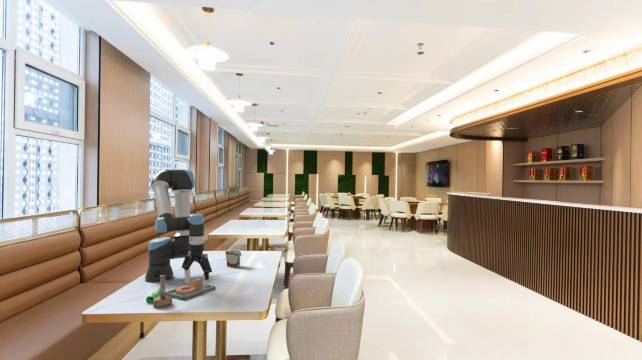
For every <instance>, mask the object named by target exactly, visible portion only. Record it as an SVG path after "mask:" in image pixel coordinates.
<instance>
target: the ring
mask: <svg viewBox="0 0 642 360" xmlns="http://www.w3.org/2000/svg"><path fill="white" fill-rule="evenodd" d="M202 283H203V278H199V277H196V278H193V279H190V282H189V284H190V286H185V285H182V286H179V288H178V287H176V288H177V289H176V294H177V295H181V296H183V295H189V294H192V293H195V291H196V290H199V289H201V288H202Z"/></svg>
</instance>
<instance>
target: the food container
mask: <svg viewBox="0 0 642 360" xmlns="http://www.w3.org/2000/svg"><path fill="white" fill-rule="evenodd" d="M224 253H225V258H226V260H225V261H226V267H228V268H233V269H239V268H240V266H241V264H240V263H241V256H242V252H241V251H240V250H227V251H225V252H224Z"/></svg>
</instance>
